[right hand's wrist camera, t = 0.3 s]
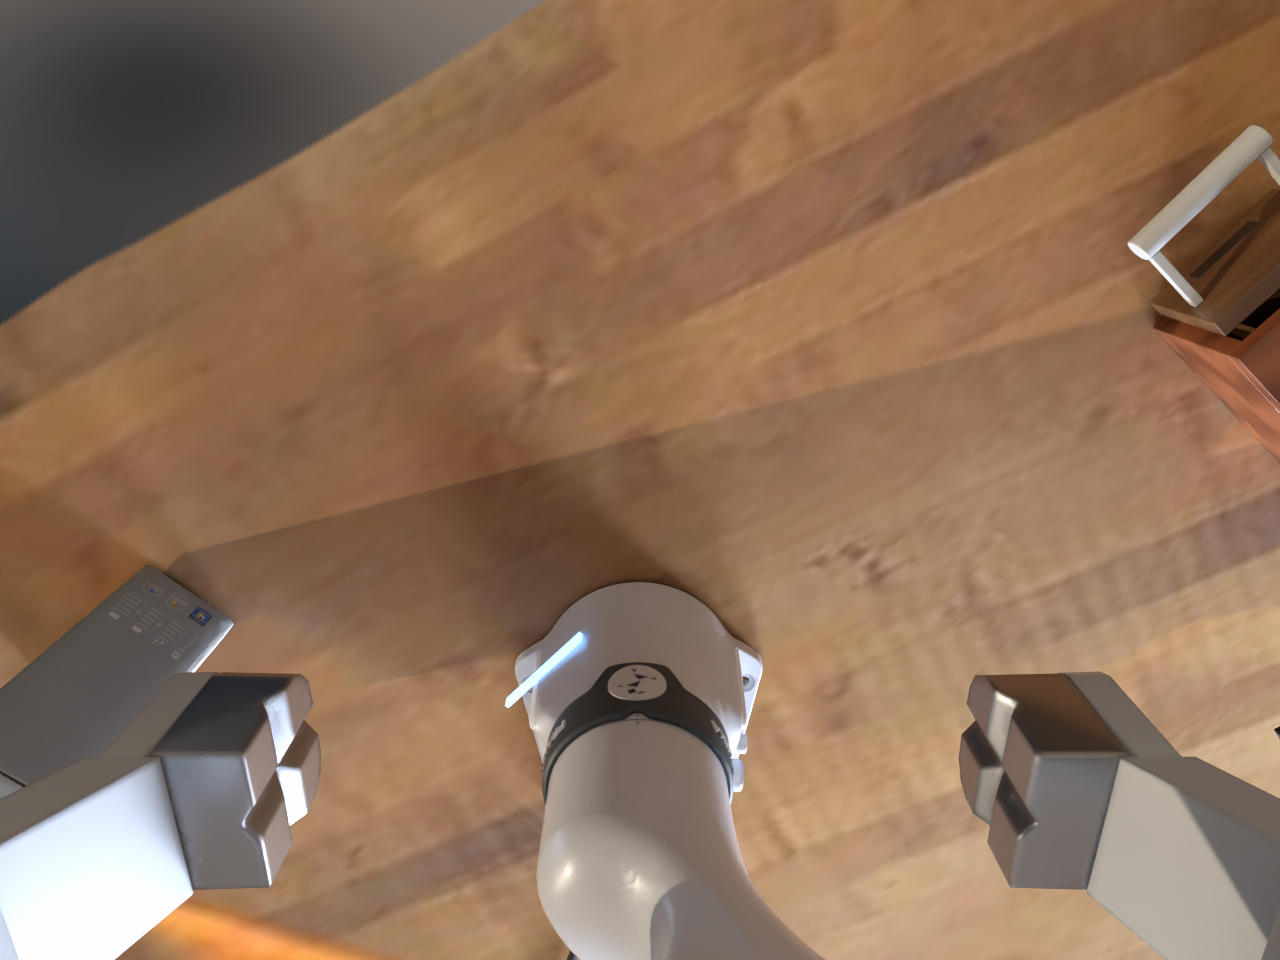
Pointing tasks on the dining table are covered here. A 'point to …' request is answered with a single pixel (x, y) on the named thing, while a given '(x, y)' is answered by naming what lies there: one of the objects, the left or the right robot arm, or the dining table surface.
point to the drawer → (1222, 248)
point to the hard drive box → (101, 675)
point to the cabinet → (1236, 371)
